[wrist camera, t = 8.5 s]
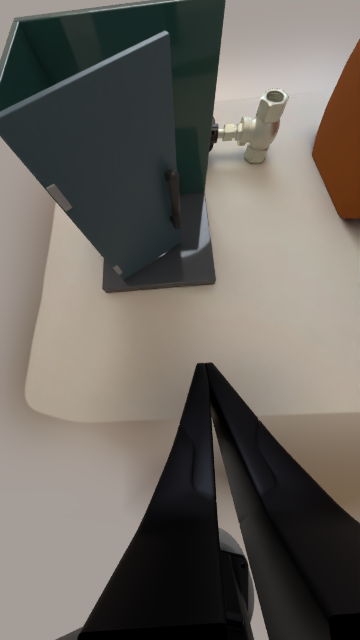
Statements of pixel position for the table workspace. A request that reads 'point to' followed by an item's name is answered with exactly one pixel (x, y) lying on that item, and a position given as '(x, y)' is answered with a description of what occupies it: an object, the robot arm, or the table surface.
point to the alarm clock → (342, 141)
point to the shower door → (108, 152)
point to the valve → (255, 126)
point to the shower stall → (188, 103)
